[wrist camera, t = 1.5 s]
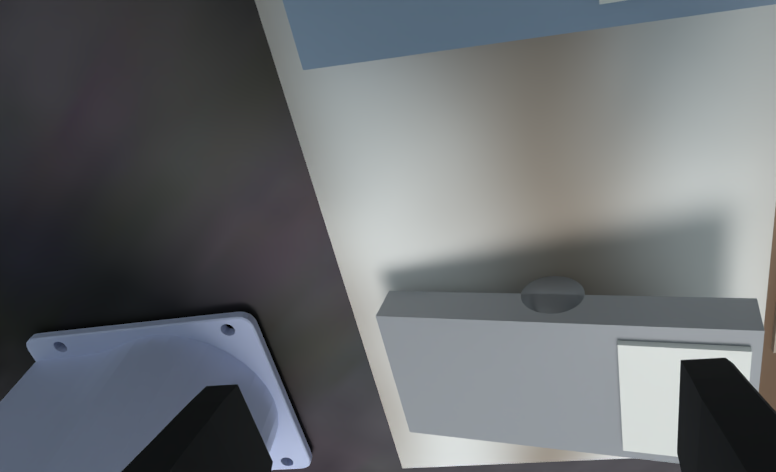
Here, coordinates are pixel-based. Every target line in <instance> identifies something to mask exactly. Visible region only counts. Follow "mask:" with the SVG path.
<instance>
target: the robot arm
mask: <svg viewBox="0 0 776 472" xmlns="http://www.w3.org/2000/svg"><path fill="white" fill-rule="evenodd" d="M225 324H228V325H231V326H232V327H233V328H234V329H233V328H229V327H227V326H226V325H225ZM26 346H27V349H28V351H29V352H30V354H31V355H32V357H33V358H34V360H35V361H36V362H35V363H34V364H33V365H32V366H31V368H30V369H29V370H28V371H27V372H26V373H25V374H24V375H23V377H22V378H21V379H20V380H19V381H18V382H17V383H16V385H15V386H14V387H13V388H12V389H11V390H10V391H9V392H8V394H7V395H6V396H5V397H4V398H3V399H2V400H1V402H0V472H271V470H280V469H301V468H306V467H308V466H309V465H310V463H311V460H312V453H311V450H310V448H309V446H308V443H307V441H306V438H305V436H304V434H303V431H302V429H301V426H300V424H299V422H298V419H297V417H296V414H295V412H294V410H293V407H292V405H291V402H290V400H289V398H288V395H287V393H286V390H285V388H284V386H283V383H282V381H281V378H280V376H279V374H278V371H277V369H276V366H275V364H274V362H273V359H272V357H271V354H270V352H269V350H268V347H267V345H266V342H265V340H264V338H263V335H262V333H261V330H260V328H259V326H258V323H257V321H256V319H255V318H254V317H253V316H252V315H251V314H249V313H246V312H240V311H239V312H229V313H220V314H211V315H202V316H193V317H183V318H174V319H165V320H156V321H146V322H137V323H128V324H119V325H110V326H100V327H91V328H82V329H73V330H64V331H54V332H45V333H37V334H34V335H33V336H32V337H31V338H30V339H29V340H28V341H27V343H26ZM677 455H678V459H679V463H680V467H681V471H682V472H776V411H775V410H774V409H773V408H772V407H771V406H770V404H769V403H768V402H767V401H766V400H765V399H764V398H763V397H762V396H761V395H760V393H759V392H758V391H757V390H756V389H755V388H754V387H753V386H752V384H751V383H750V382H749V381H748V380H747V379H746V378H745V376H744V375H743V374H742V373H741V372H740V371H739V370H738V368H737V367H736V366H735V365H734V364H733V363H732V362H731V361H729V360H728V359H727V358H709V359H690V360H681V364H680V389H679V414H678V439H677Z"/></svg>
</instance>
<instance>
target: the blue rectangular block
mask: <svg viewBox="0 0 776 472" xmlns="http://www.w3.org/2000/svg"><path fill="white" fill-rule="evenodd" d="M283 4H284V7H285V11H286V14H287V17H288V21H289V24H290V27H291V31H292V34H293V38H294V41H295V44H296V48H297V51H298V55H299V58H300V61H301V65H302V68H303V70H309V69H316V68H323V67H330V66H337V65H345V64H352V63H359V62H366V61H373V60H380V59H387V58H395V57H402V56H409V55H416V54H423V53H430V52H437V51H445V50H452V49H459V48H466V47H473V46H480V45H487V44H494V43H502V42H509V41H516V40H523V39H530V38H537V37H544V36H552V35H559V34H566V33H573V32H580V31H587V30H594V29H602V28H609V27H616V26H623V25H630V24H637V23H644V22H652V21H659V20H666V19H673V18H680V17H687V16H694V15H701V14H709V13H716V12H723V11H730V10H737V9H744V8H751V7H759V6H766V5H773V4H776V0H283Z"/></svg>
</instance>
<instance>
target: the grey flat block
mask: <svg viewBox="0 0 776 472" xmlns="http://www.w3.org/2000/svg"><path fill="white" fill-rule="evenodd" d="M376 319H377V323H378V326H379V329H380V333H381V336H382V339H383V343H384V346H385V350H386V353H387V356H388V360H389V363H390V367H391V370H392V373H393V377H394V380H395V384H396V387H397V390H398V394H399V397H400V401H401V404H402V407H403V411H404V414H405V417H406V421H407V424H408V428H409V431H410V432H414V433H422V434H431V435H439V436H448V437H457V438H465V439H474V440H482V441H491V442H499V443H508V444H516V445H525V446H534V447H542V448H551V449H559V450H568V451H576V452H585V453H594V454H602V455H611V456H619V457H628V458H636V459H645V460H654V461H662V462H671V463H679V459H678V455H677V439H678V414H679V389H680V364H681V360H690V359H709V358H727V359H728V360H729V361H731V362H732V363H733V364H734V365H735V366H736V367H737V368H738V370H739V371H740V372H741V373H742V374H743V375H744V376H745V378H746V379H747V380H748V381H749V382H750V383H751V384H752V386H753V387H754V388H755V389H756V390H757V391H758V392H759V383H760V373H761V363H762V353H763V343H764V332H765V330H764V326H763V322H762V318H761V314H760V309H759V305H758V301H757V298H714V297H665V296H617V295H585V291H584V288H583V287H582V285H581V284H580V283H578V282H577V281H575V280H573V279H571V278H567V277H562V276H548V277H543V278H539V279H536V280H534V281H532V282H530V283H529V284H527V285H526V286H525V287H524V289H523V290H522V292H521V294H520V293H472V292H424V291H389V292H388V294H387V296H386V298H385V299H384V301H383V303H382V305H381V307H380V309H379V311H378V312H377V314H376ZM679 464H680V463H679Z"/></svg>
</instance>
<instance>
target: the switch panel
mask: <svg viewBox="0 0 776 472" xmlns="http://www.w3.org/2000/svg"><path fill="white" fill-rule="evenodd" d="M255 3H256V6H257V9H258V13H259V16H260V19H261V22H262V25H263V28H264V32H265V35H266V38H267V41H268V44H269V47H270V51H271V54H272V57H273V60H274V63H275V66H276V70H277V73H278V76H279V79H280V82H281V85H282V88H283V92H284V95H285V98H286V101H287V104H288V107H289V111H290V114H291V117H292V120H293V123H294V126H295V130H296V133H297V136H298V139H299V142H300V145H301V149H302V152H303V155H304V158H305V161H306V164H307V168H308V171H309V174H310V177H311V180H312V183H313V187H314V190H315V193H316V196H317V199H318V202H319V206H320V209H321V212H322V215H323V218H324V221H325V224H326V228H327V231H328V234H329V237H330V240H331V243H332V247H333V250H334V253H335V256H336V259H337V262H338V266H339V269H340V272H341V275H342V278H343V281H344V285H345V288H346V291H347V294H348V297H349V300H350V304H351V307H352V310H353V313H354V316H355V319H356V323H357V326H358V329H359V332H360V335H361V338H362V342H363V345H364V348H365V351H366V354H367V357H368V360H369V364H370V367H371V370H372V373H373V376H374V379H375V383H376V386H377V389H378V392H379V395H380V398H381V402H382V405H383V408H384V411H385V414H386V417H387V421H388V424H389V427H390V430H391V433H392V436H393V440H394V443H395V446H396V449H397V452H398V455H399V459H400V462H401V465H402V468H420V467H443V466H466V465H488V464H511V463H534V462H556V461H579V460H602V459H624V458H628V457H619V456H611V455H602V454H594V453H585V452H576V451H568V450H559V449H551V448H542V447H534V446H525V445H516V444H508V443H499V442H491V441H482V440H474V439H465V438H457V437H448V436H439V435H431V434H422V433H414V432H410V431H409V428H408V424H407V421H406V417H405V414H404V411H403V407H402V404H401V401H400V397H399V394H398V390H397V387H396V384H395V380H394V377H393V373H392V370H391V367H390V363H389V360H388V356H387V353H386V350H385V346H384V343H383V339H382V336H381V333H380V329H379V326H378V323H377V319H376V314H377V312H378V311H379V309H380V307H381V305H382V303H383V301H384V299H385V298H386V296H387V294H388V292H389V291H424V292H472V293H520V294H521V292H522V290H523V289H524V287H525V286H526V285H527V284H529V283H530V282H532V281H534V280H536V279H539V278H543V277H548V276H562V277H567V278H571V279H573V280H575V281H577V282H578V283H580V284H581V285H582V287H583V288H584V291H585V295H617V296H665V297H714V298H757V301H758V305H759V309H760V314H761V318H762V322H763V326H764V330H765V332H764V343H763V353H762V363H761V373H760V383H759V393H760V395H761V396H762V397H763V398H764V399H765V400H766V401H767V402H768V403H769V404H770V406H771V407H772V408H773V409H774V410H775V411H776V4H773V5H766V6H759V7H751V8H744V9H737V10H730V11H723V12H716V13H709V14H701V15H694V16H687V17H680V18H673V19H666V20H659V21H652V22H644V23H637V24H630V25H623V26H616V27H609V28H602V29H594V30H587V31H580V32H573V33H566V34H559V35H552V36H544V37H537V38H530V39H523V40H516V41H509V42H502V43H494V44H487V45H480V46H473V47H466V48H459V49H452V50H445V51H437V52H430V53H423V54H416V55H409V56H402V57H395V58H387V59H380V60H373V61H366V62H359V63H352V64H345V65H337V66H330V67H323V68H316V69H309V70H303V68H302V65H301V61H300V58H299V55H298V51H297V48H296V44H295V41H294V38H293V34H292V31H291V27H290V24H289V21H288V17H287V14H286V11H285V7H284V4H283V0H255Z"/></svg>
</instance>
